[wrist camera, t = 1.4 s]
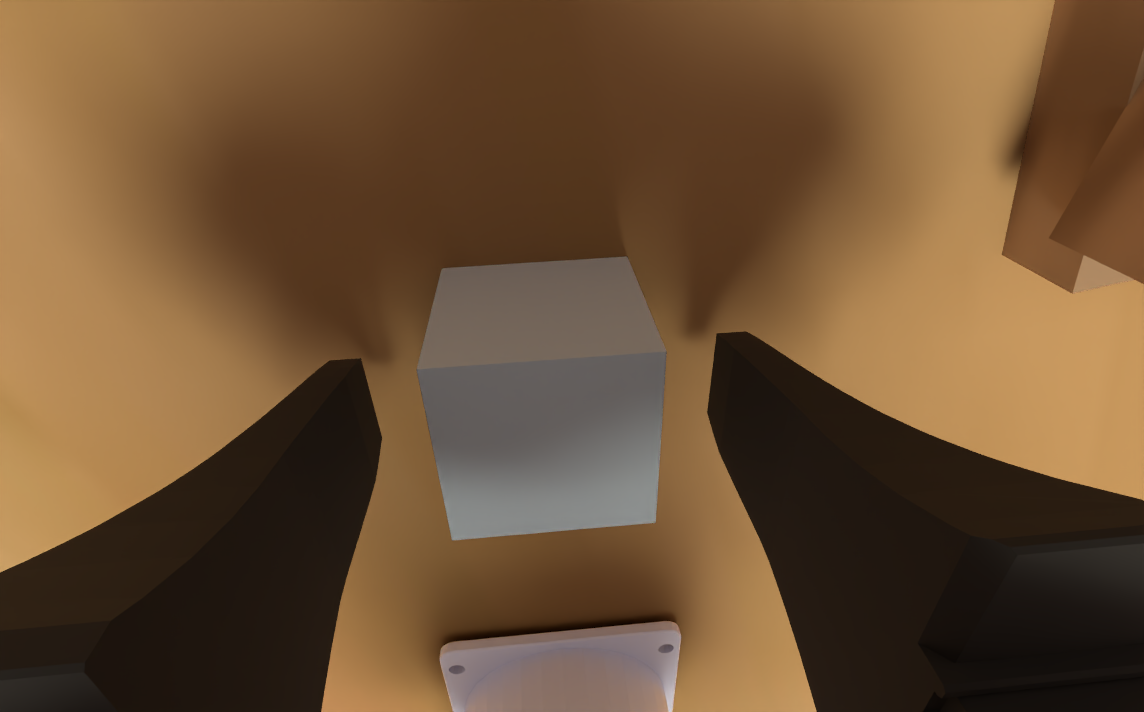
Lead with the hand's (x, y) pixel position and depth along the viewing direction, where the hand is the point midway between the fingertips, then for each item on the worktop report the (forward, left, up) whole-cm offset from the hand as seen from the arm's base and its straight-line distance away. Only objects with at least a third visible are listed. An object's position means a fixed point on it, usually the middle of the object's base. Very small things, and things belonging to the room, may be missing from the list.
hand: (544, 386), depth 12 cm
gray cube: (0, 0, -2) cm, 2 cm away
